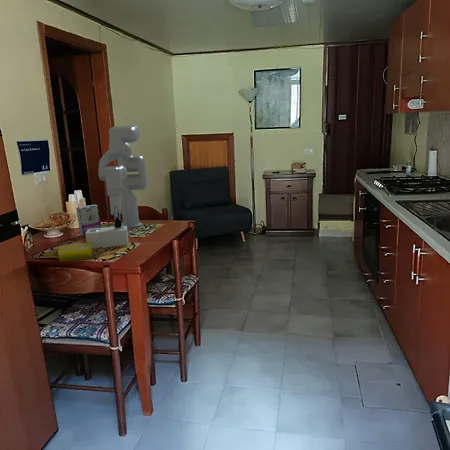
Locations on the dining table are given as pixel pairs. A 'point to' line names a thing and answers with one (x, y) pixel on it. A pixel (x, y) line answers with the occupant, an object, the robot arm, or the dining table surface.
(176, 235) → the dining table surface
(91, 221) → the candy bar box
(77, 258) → the element tile
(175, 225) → the dining table surface
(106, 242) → the pin block
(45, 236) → the dining table surface
